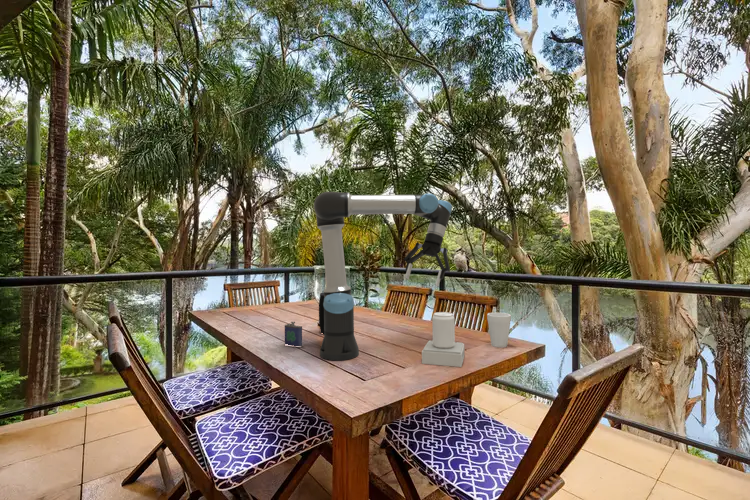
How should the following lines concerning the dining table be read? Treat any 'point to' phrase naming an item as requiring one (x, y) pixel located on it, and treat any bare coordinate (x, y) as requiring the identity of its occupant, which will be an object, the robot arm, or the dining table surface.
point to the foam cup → (499, 328)
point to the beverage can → (443, 330)
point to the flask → (293, 334)
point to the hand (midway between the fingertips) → (421, 282)
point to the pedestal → (443, 355)
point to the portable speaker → (321, 312)
